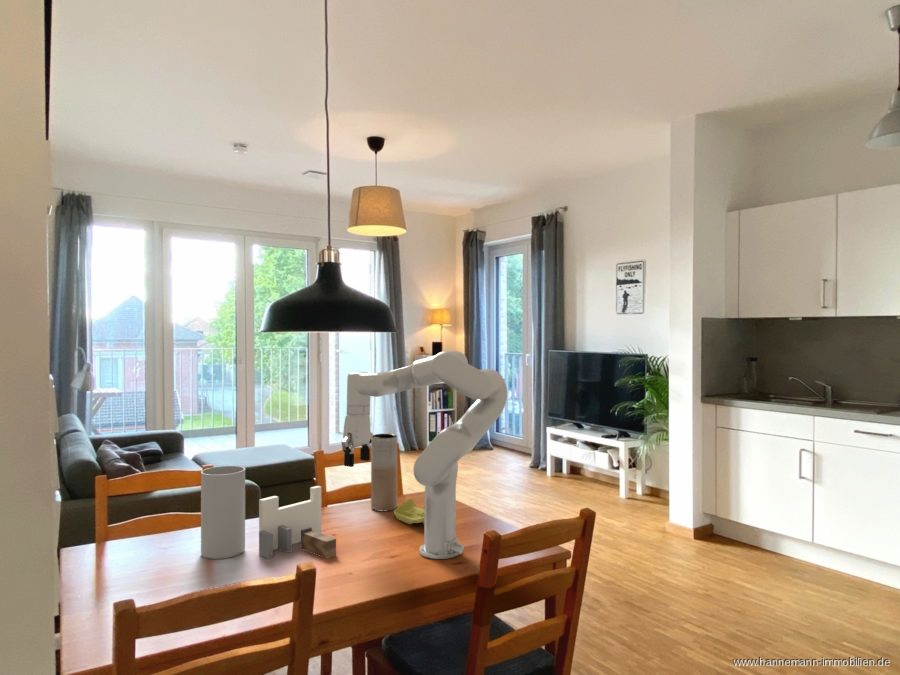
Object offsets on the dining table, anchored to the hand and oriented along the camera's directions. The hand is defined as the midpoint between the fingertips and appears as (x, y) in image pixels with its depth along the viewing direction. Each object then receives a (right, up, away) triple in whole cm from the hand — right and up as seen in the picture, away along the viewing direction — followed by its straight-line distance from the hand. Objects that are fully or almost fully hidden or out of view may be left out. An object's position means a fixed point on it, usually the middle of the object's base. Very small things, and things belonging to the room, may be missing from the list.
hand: (357, 463), depth 187 cm
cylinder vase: (-39, -25, -11) cm, 48 cm away
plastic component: (+19, -25, +19) cm, 37 cm away
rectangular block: (-10, -25, -10) cm, 29 cm away
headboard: (-19, -25, -5) cm, 32 cm away
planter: (+5, -25, +36) cm, 44 cm away
